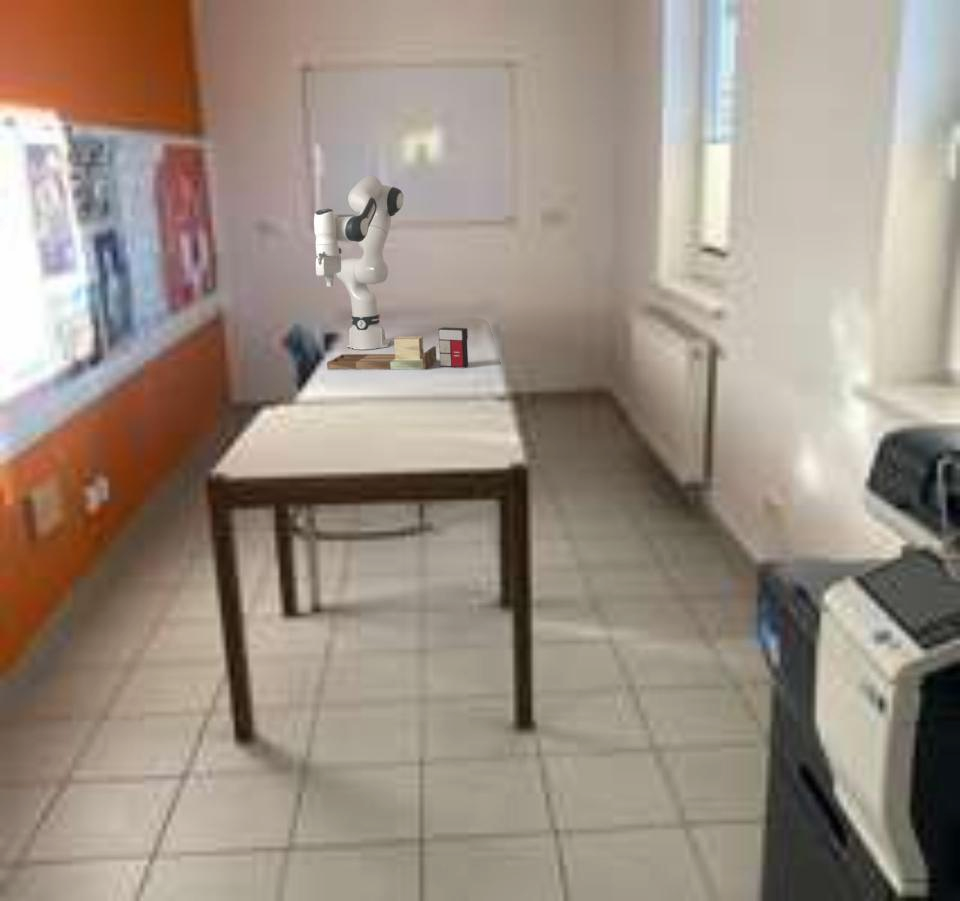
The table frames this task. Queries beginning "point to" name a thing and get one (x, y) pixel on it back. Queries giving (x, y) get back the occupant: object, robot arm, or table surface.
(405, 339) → the block
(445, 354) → the toy cabinet
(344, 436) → the table surface
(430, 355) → the box
